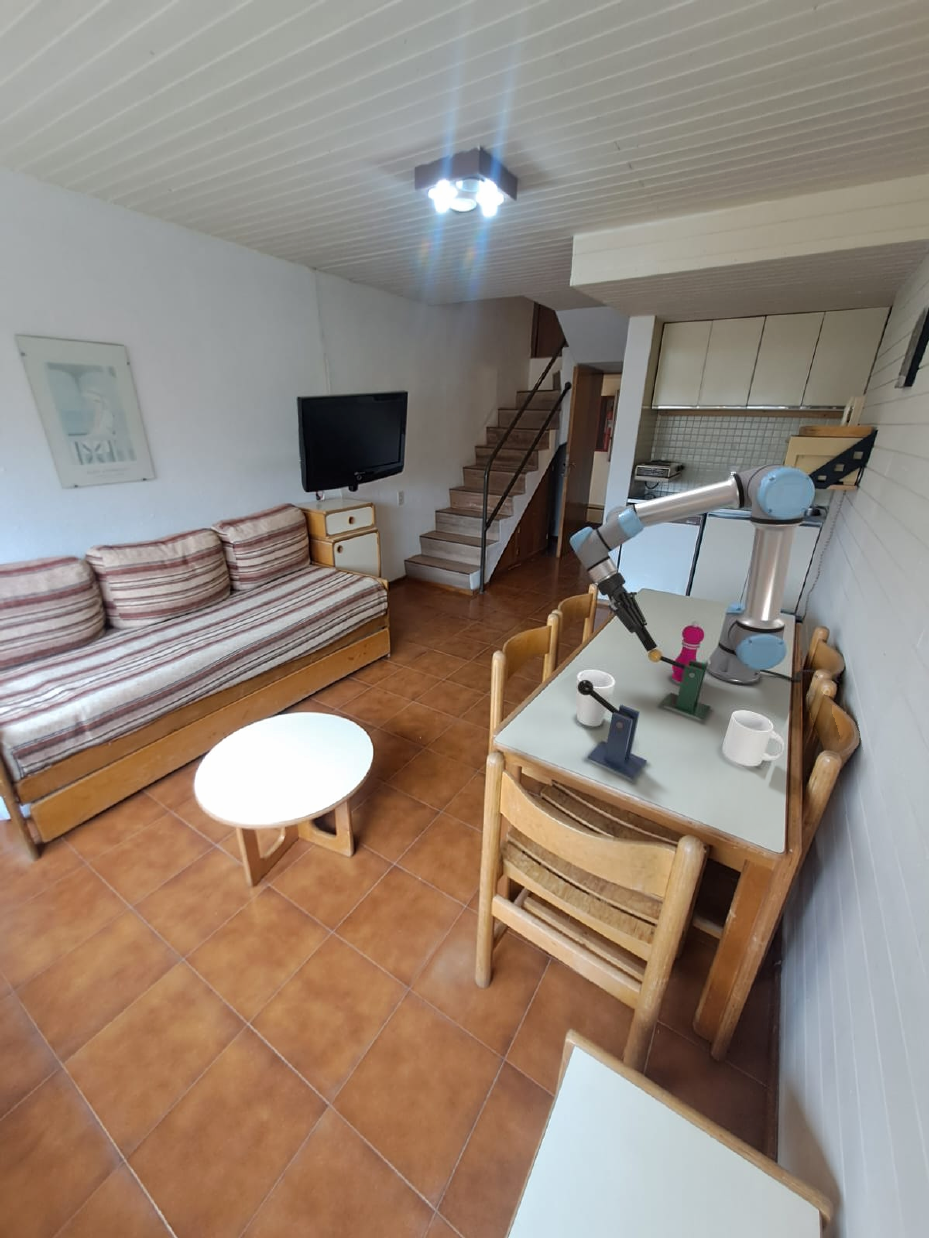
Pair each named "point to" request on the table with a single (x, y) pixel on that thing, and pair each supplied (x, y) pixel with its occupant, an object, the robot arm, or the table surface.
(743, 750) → the mug
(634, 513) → the robot arm
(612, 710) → the black lever
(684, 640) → the pepper mill
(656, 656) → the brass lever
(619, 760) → the blue bracket
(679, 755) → the table surface
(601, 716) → the foam cup
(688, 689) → the green bracket
